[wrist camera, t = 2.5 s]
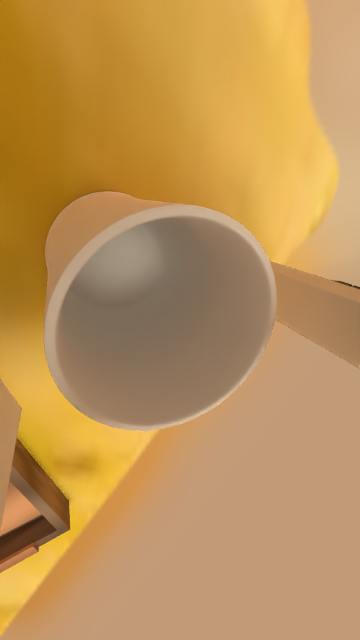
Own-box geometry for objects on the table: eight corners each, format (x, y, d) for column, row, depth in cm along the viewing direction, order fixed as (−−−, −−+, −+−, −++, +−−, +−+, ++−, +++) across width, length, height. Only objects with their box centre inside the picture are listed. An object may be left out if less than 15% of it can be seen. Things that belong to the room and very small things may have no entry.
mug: (154, 352, 24) (228, 473, 14) (43, 355, 20) (31, 524, 10) (181, 206, 19) (315, 224, 9) (46, 176, 16) (34, 153, 6)
